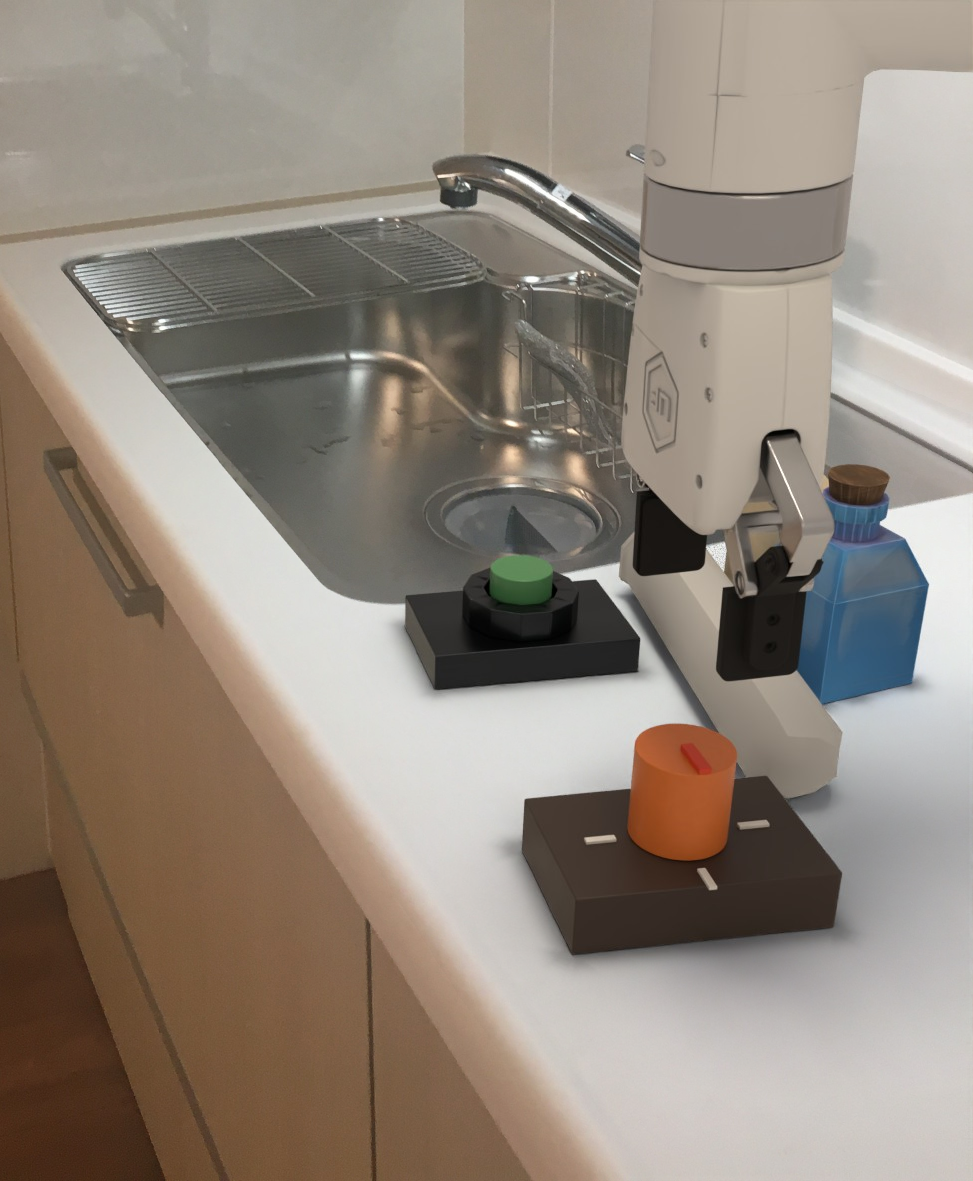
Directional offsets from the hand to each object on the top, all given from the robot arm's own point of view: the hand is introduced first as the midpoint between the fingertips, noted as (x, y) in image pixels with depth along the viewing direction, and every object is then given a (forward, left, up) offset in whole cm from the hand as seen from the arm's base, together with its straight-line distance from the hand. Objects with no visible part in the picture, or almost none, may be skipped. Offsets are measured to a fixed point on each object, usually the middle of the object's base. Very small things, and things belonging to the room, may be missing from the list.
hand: (709, 619), depth 69 cm
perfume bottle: (-16, -18, -14) cm, 28 cm away
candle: (-15, -26, -14) cm, 33 cm away
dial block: (+1, 0, -14) cm, 14 cm away
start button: (+1, -24, -10) cm, 26 cm away
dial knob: (+1, 0, -11) cm, 11 cm away
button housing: (+1, -24, -14) cm, 28 cm away
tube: (-9, -17, -14) cm, 24 cm away
